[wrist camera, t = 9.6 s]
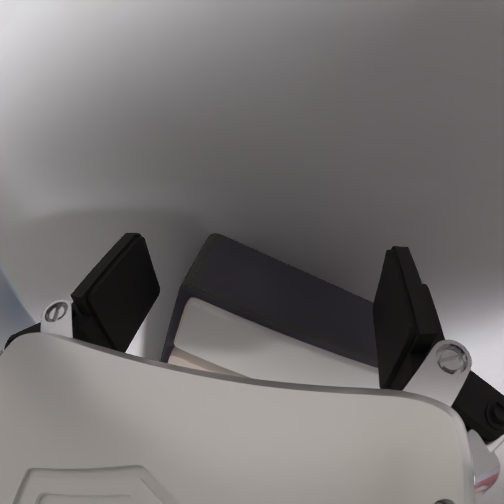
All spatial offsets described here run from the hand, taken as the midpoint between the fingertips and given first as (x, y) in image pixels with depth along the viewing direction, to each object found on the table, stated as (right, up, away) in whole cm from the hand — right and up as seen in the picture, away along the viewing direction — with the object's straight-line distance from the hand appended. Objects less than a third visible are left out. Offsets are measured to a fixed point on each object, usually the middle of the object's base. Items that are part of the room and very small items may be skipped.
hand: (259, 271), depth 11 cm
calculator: (0, -6, +7) cm, 9 cm away
